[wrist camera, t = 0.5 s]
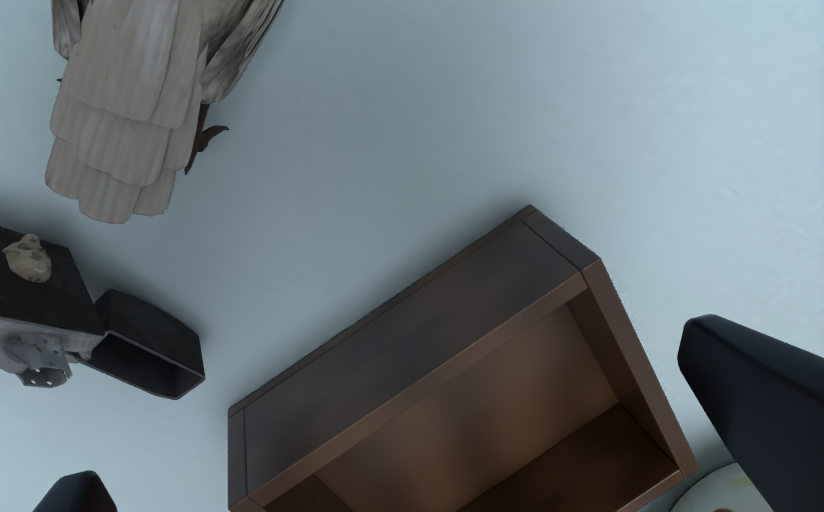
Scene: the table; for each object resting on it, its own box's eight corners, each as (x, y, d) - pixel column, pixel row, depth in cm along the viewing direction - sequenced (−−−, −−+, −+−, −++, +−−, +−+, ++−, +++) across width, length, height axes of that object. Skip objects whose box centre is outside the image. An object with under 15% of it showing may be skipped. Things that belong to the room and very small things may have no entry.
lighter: (179, 269, 23) (236, 370, 21) (144, 304, 24) (197, 408, 21) (-36, 193, 16) (13, 331, 14) (-83, 244, 16) (-43, 390, 14)
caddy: (388, 557, 30) (416, 659, 26) (226, 409, 24) (226, 509, 19) (630, 395, 30) (700, 468, 25) (530, 203, 24) (600, 256, 19)
